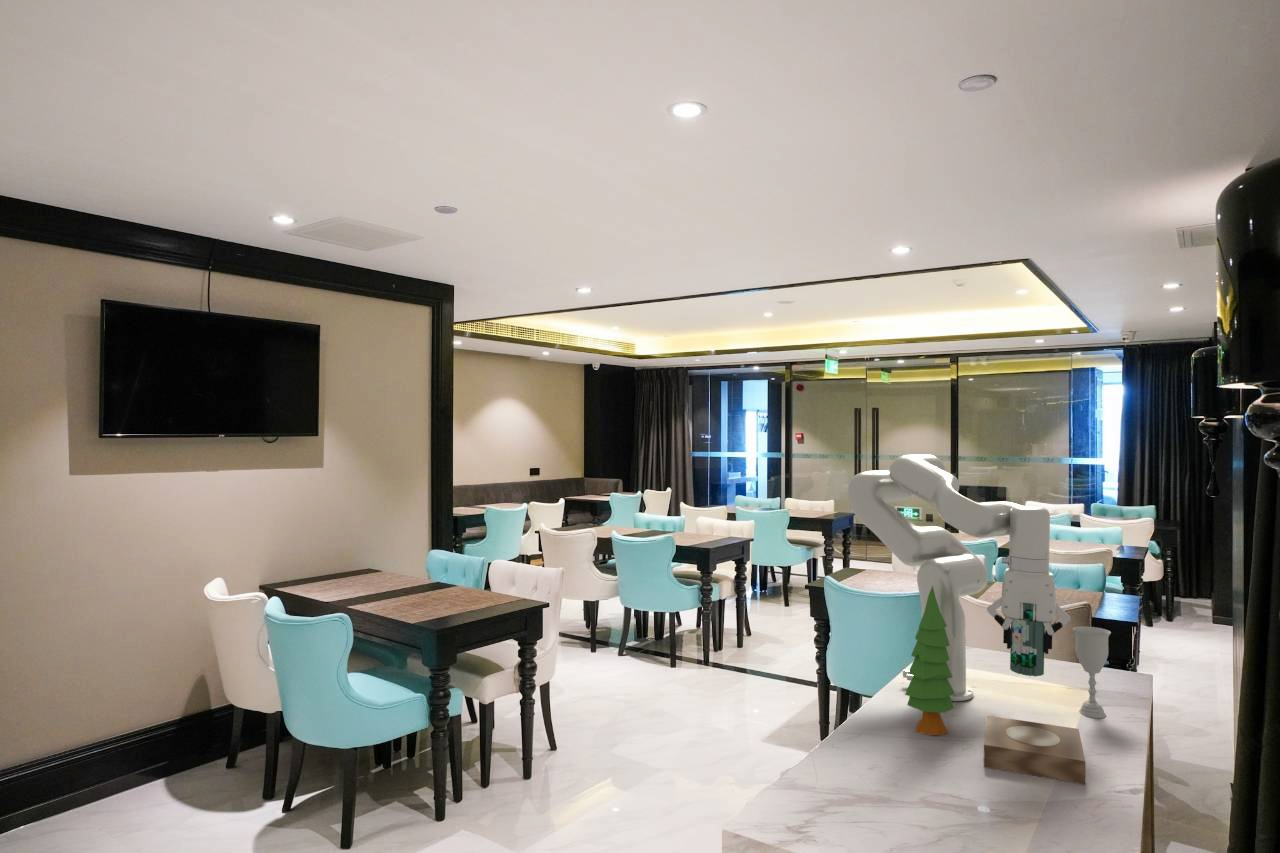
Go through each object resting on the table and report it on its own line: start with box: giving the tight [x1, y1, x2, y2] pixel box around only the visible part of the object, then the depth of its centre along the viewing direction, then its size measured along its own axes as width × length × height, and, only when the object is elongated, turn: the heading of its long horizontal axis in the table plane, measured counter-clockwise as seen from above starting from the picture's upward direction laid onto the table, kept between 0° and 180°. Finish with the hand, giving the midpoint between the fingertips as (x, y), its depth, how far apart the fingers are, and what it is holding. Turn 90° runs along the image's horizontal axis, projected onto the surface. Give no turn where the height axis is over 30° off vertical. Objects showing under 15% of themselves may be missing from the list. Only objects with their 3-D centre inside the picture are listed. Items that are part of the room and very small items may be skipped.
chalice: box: [1072, 625, 1112, 719], centre depth 164 cm, size 7×7×18 cm
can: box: [1009, 602, 1046, 677], centre depth 159 cm, size 6×6×15 cm
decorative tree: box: [904, 585, 955, 737], centre depth 155 cm, size 10×9×30 cm
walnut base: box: [983, 714, 1087, 785], centre depth 141 cm, size 16×16×4 cm
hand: (1027, 648), depth 159 cm, fingers closed on can, 6 cm apart
